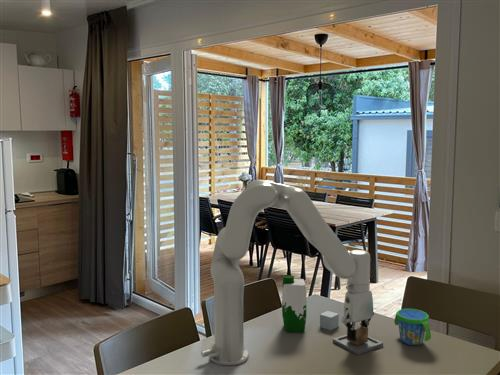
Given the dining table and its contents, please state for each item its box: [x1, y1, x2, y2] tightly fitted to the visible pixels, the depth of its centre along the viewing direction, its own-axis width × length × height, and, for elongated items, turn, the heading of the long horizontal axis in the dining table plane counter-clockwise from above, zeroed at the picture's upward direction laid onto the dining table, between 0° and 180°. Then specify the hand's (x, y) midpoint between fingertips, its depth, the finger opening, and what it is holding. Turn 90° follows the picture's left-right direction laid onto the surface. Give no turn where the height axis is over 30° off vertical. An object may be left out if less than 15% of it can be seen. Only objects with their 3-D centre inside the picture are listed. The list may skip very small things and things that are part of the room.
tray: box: [332, 334, 384, 356], centre depth 167 cm, size 12×12×1 cm
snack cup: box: [393, 308, 432, 346], centre depth 168 cm, size 16×10×10 cm
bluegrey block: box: [319, 310, 340, 331], centre depth 183 cm, size 5×5×5 cm
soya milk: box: [281, 274, 307, 333], centre depth 180 cm, size 9×9×20 cm
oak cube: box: [346, 322, 369, 345], centre depth 167 cm, size 5×5×5 cm
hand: (357, 337), depth 167 cm, fingers closed on oak cube, 4 cm apart
